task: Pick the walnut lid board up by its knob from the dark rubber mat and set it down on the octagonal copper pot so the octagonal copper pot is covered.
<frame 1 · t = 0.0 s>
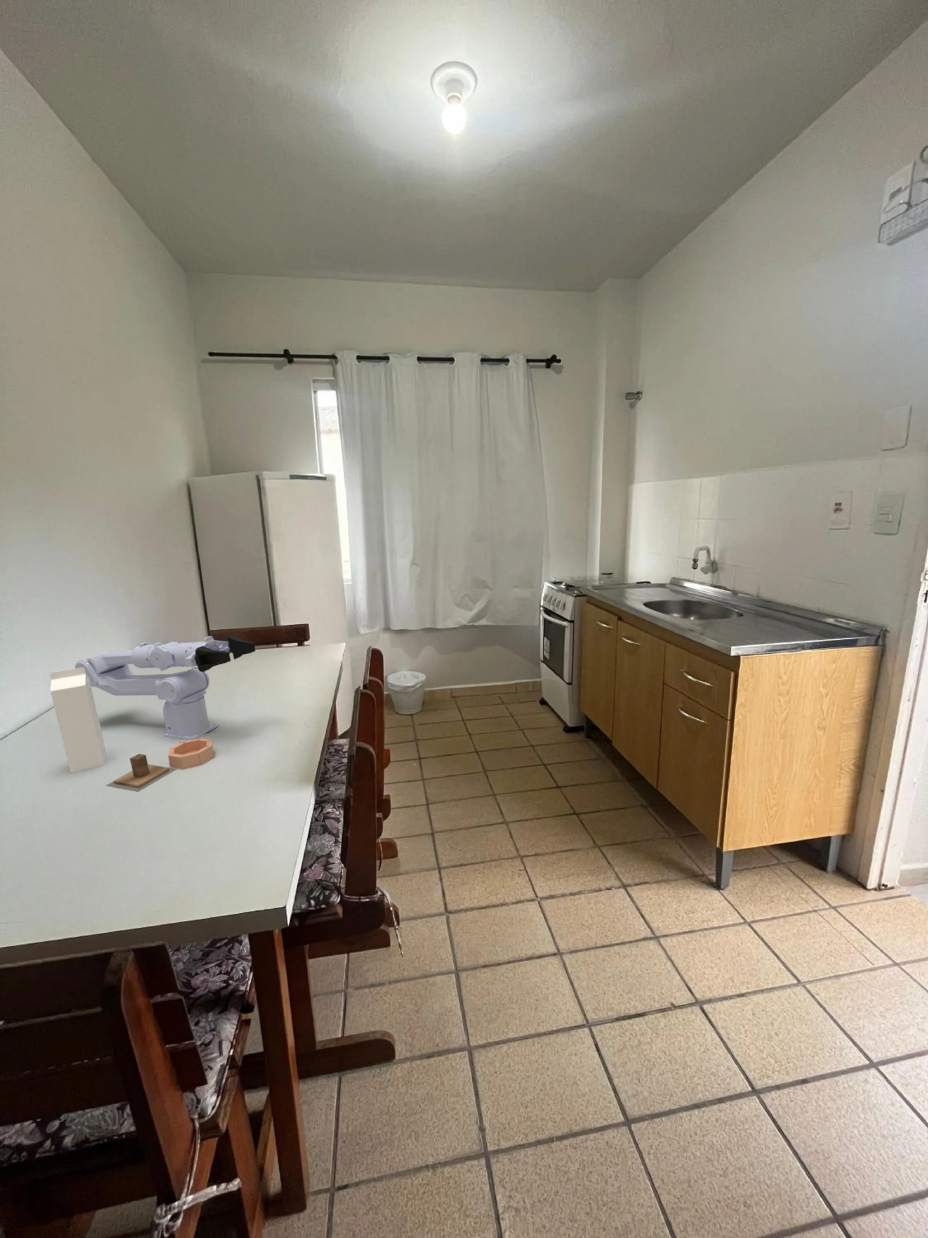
hand: (241, 652, 116), 22 cm above the table, tool horizontal, fingers open, 7 cm apart
octagonal copper pot: (192, 759, 113), on the table
mat: (142, 778, 106), on the table
lid: (142, 777, 106), resting on mat
milk: (89, 765, 113), on the table
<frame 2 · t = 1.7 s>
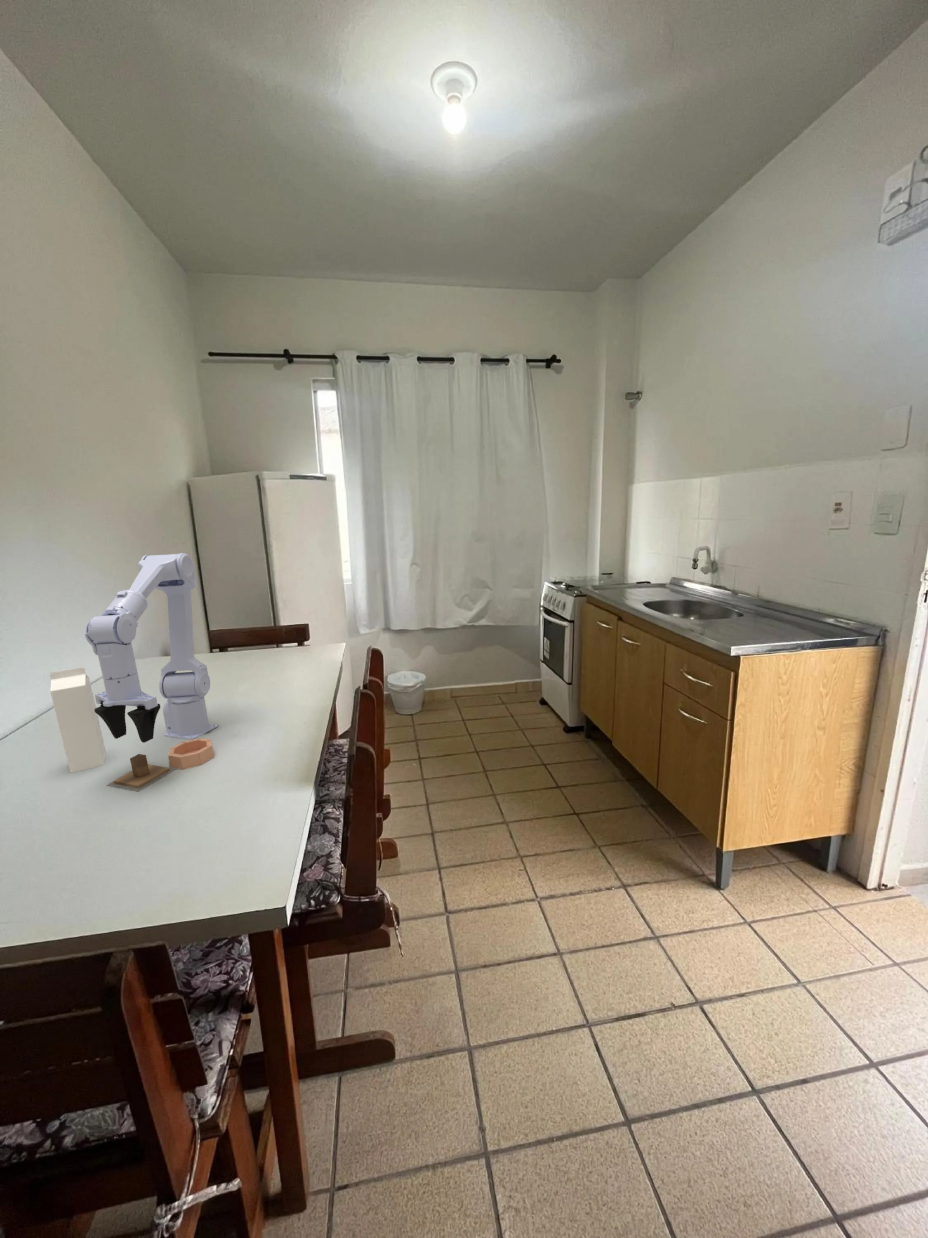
hand: (133, 738, 104), 9 cm above the table, tool pointing down, fingers open, 7 cm apart
nothing on the table moved.
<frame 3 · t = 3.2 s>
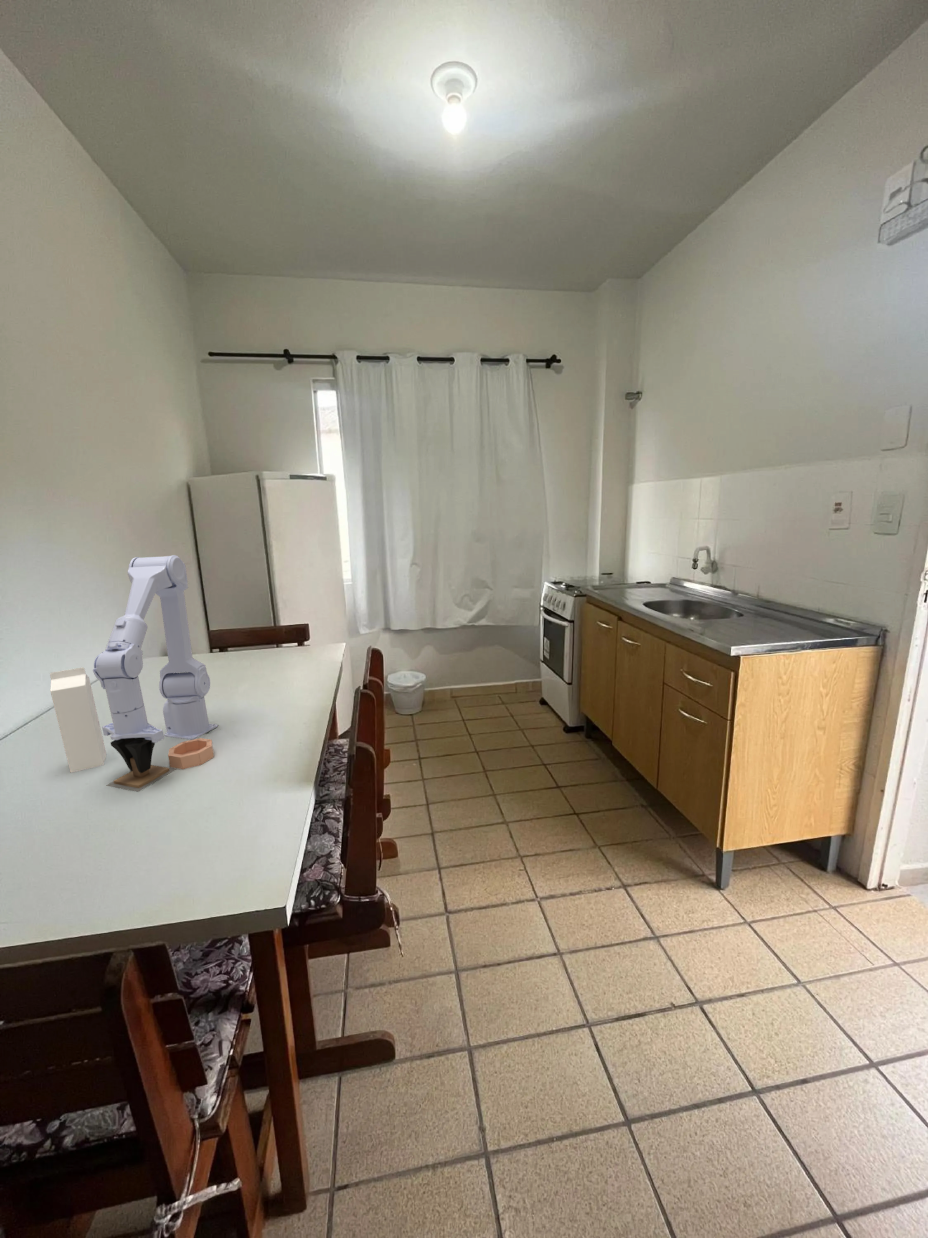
hand: (140, 769, 105), 2 cm above the table, tool pointing down, fingers closed on lid
lid: (142, 777, 106), resting on mat, touching gripper
everything else where it was.
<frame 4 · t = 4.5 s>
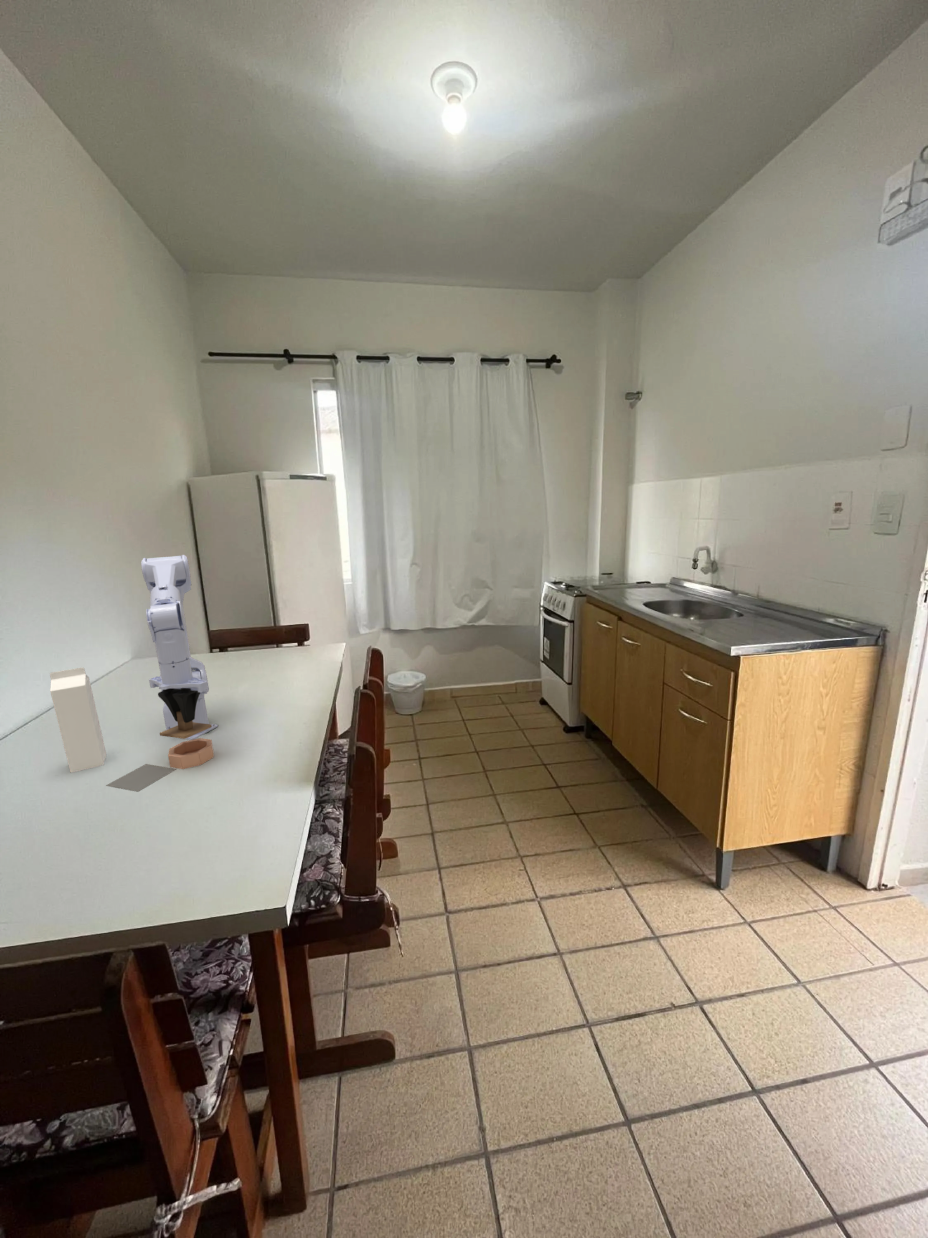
hand: (185, 720, 110), 9 cm above the table, tool pointing down, fingers closed on lid
lid: (186, 731, 111), point 7 cm above the table, touching gripper
everything else where it was.
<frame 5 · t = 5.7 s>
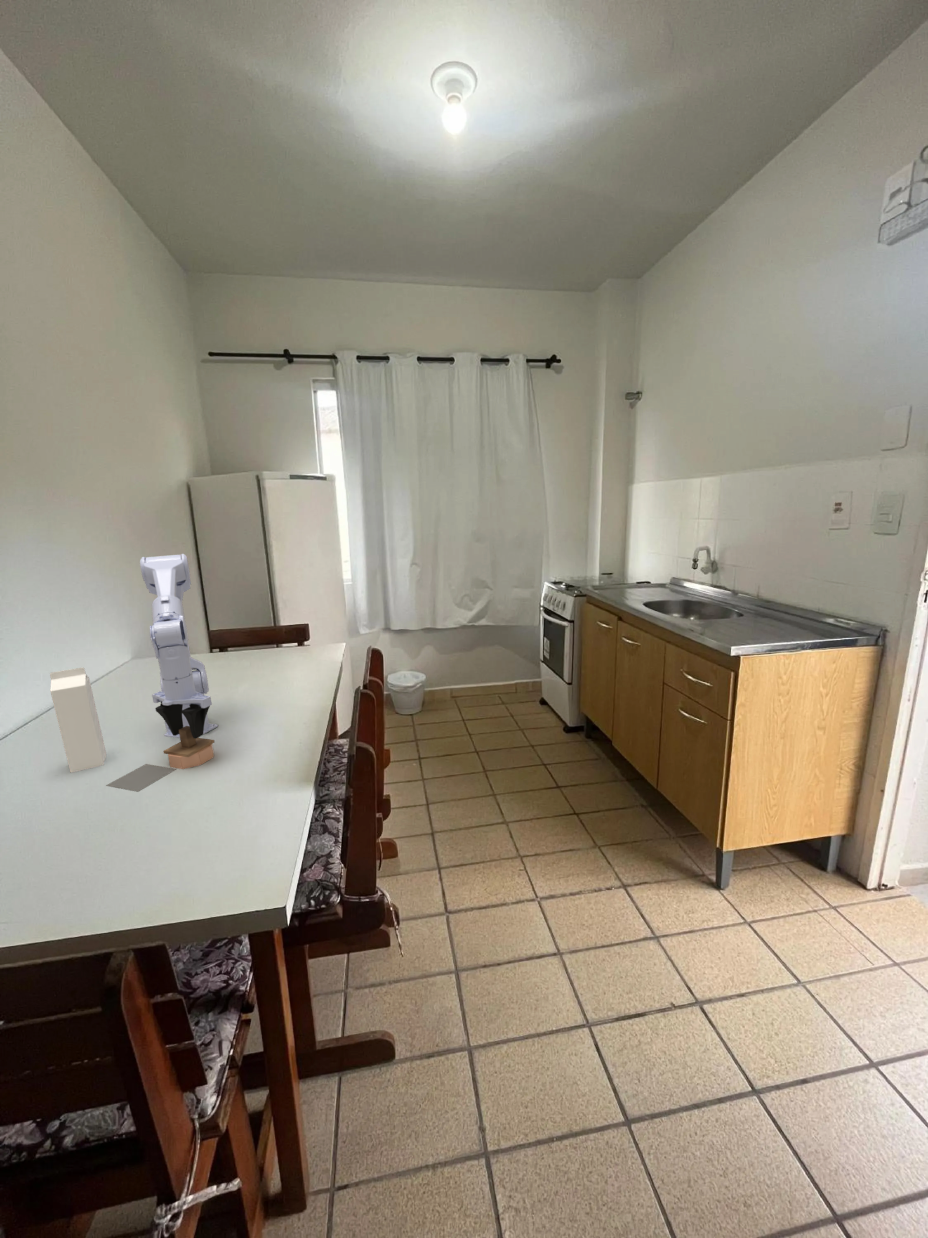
hand: (188, 735, 111), 6 cm above the table, tool pointing down, fingers open, 5 cm apart
lid: (189, 747, 112), point 3 cm above the table, touching octagonal copper pot
everything else where it was.
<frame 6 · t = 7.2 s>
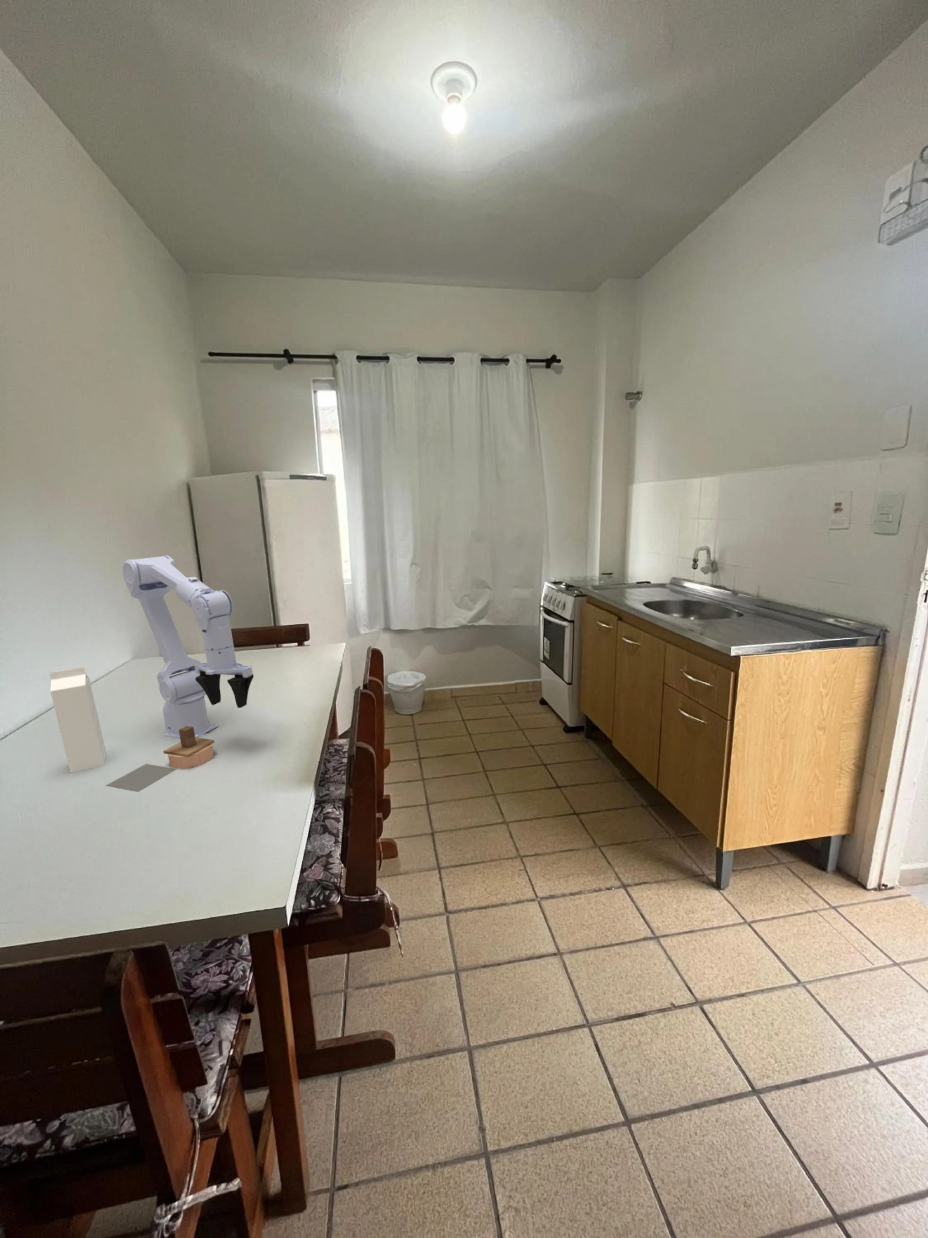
hand: (229, 704, 115), 10 cm above the table, tool pointing down, fingers open, 7 cm apart
nothing on the table moved.
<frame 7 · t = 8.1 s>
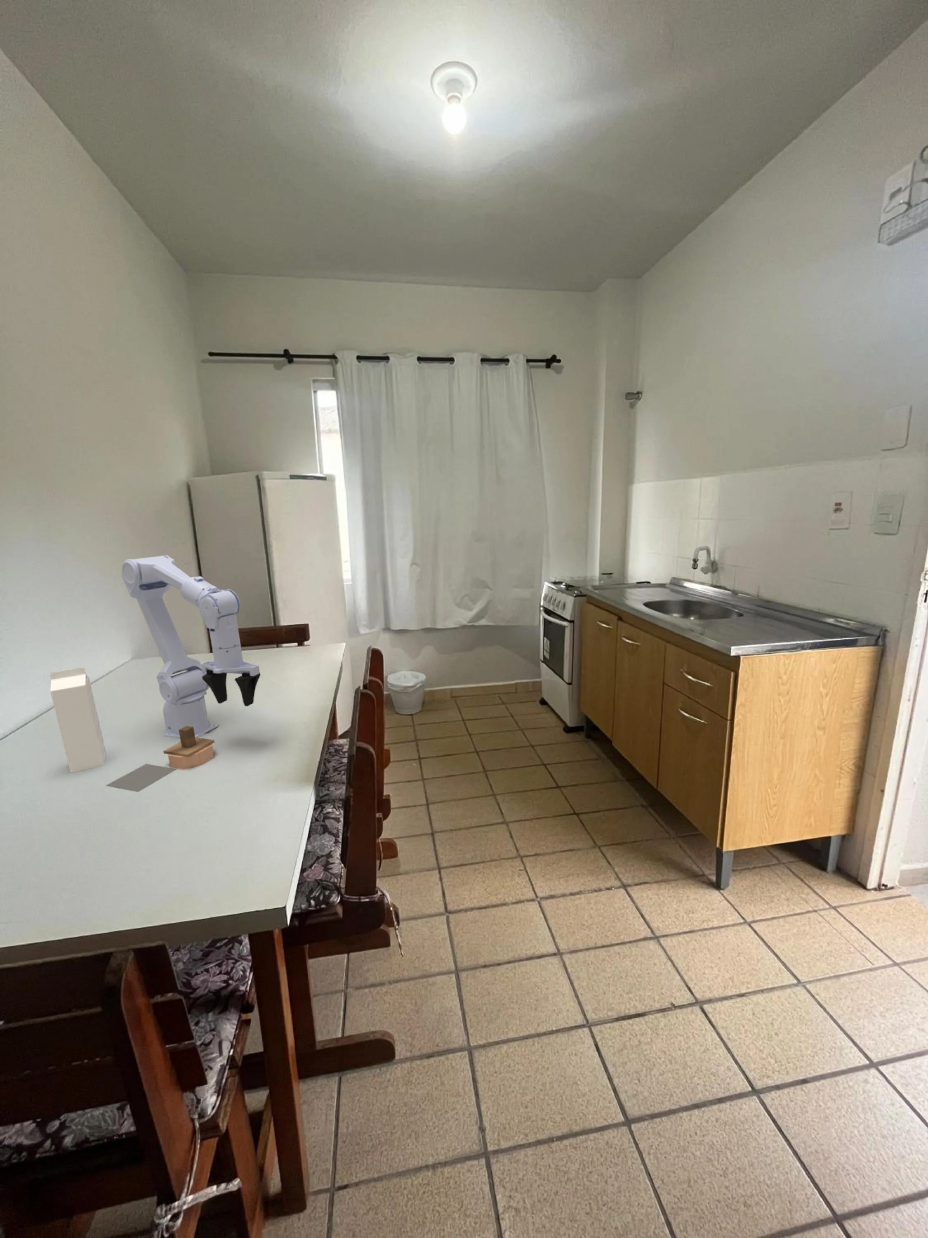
hand: (235, 703, 116), 10 cm above the table, tool pointing down, fingers open, 7 cm apart
nothing on the table moved.
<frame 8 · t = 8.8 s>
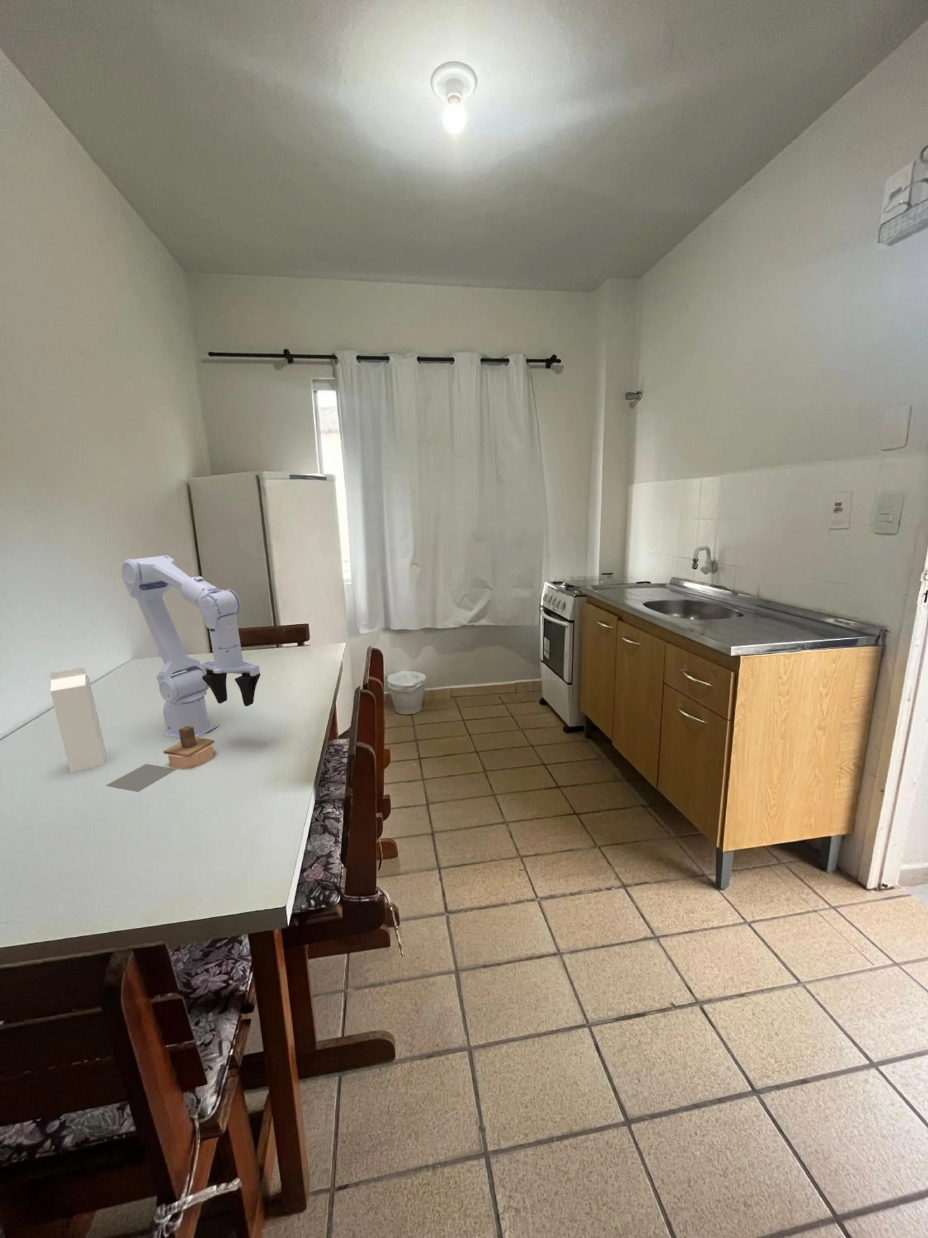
hand: (235, 703, 116), 10 cm above the table, tool pointing down, fingers open, 7 cm apart
nothing on the table moved.
at the end: lid 0.2 cm from the octagonal copper pot (horizontally); lid inside the target area (0.2 cm from its centre), point 3.0 cm above the table; lid tilted 0° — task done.
